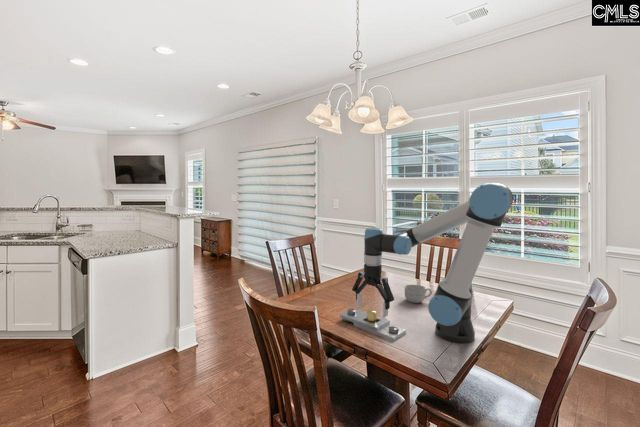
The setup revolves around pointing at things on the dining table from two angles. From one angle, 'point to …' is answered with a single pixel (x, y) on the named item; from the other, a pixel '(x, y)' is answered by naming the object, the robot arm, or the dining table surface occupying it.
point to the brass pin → (371, 316)
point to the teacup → (416, 293)
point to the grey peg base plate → (378, 328)
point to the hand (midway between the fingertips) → (371, 311)
